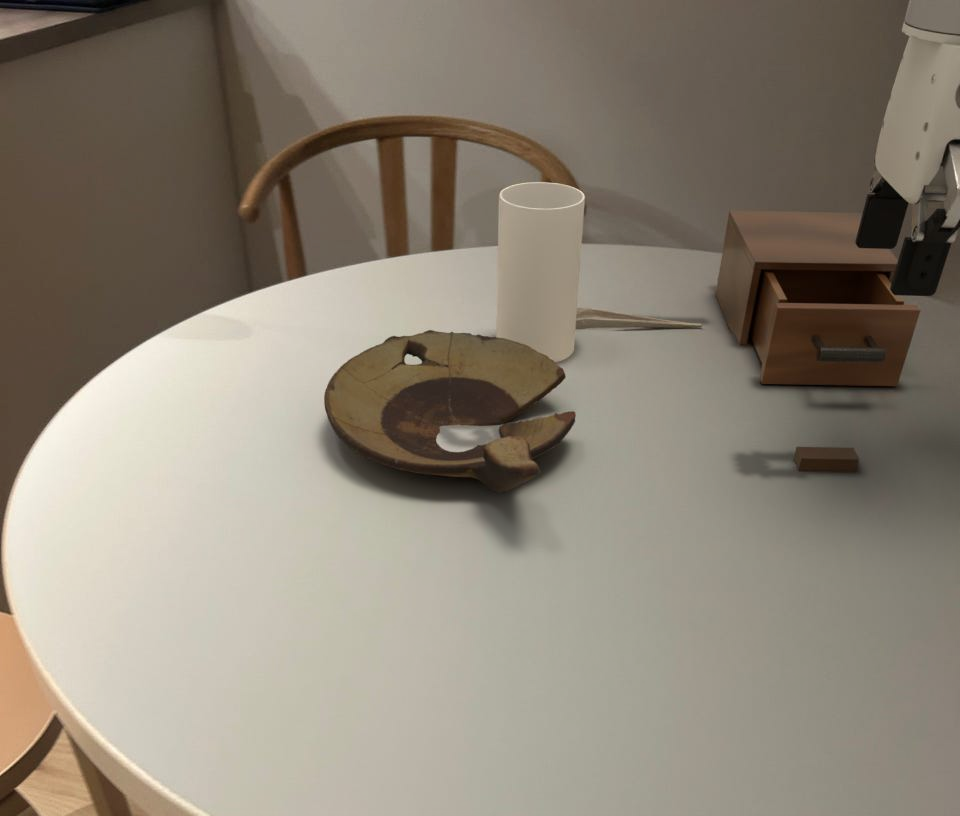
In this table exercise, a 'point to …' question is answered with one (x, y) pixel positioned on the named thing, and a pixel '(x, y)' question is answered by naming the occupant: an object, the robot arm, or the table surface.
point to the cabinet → (787, 255)
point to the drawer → (830, 328)
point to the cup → (539, 266)
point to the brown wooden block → (826, 459)
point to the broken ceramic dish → (447, 405)
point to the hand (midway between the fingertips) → (892, 269)
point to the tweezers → (621, 320)
